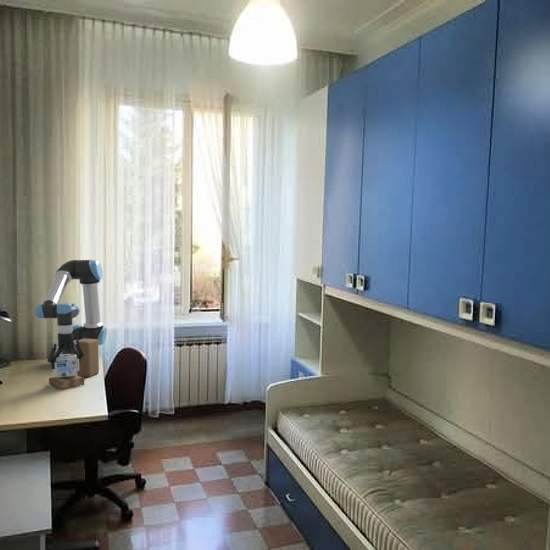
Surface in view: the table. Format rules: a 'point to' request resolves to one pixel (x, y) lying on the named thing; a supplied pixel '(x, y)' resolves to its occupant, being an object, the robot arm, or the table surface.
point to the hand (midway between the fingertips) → (66, 372)
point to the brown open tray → (66, 382)
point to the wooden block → (88, 357)
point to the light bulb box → (66, 365)
